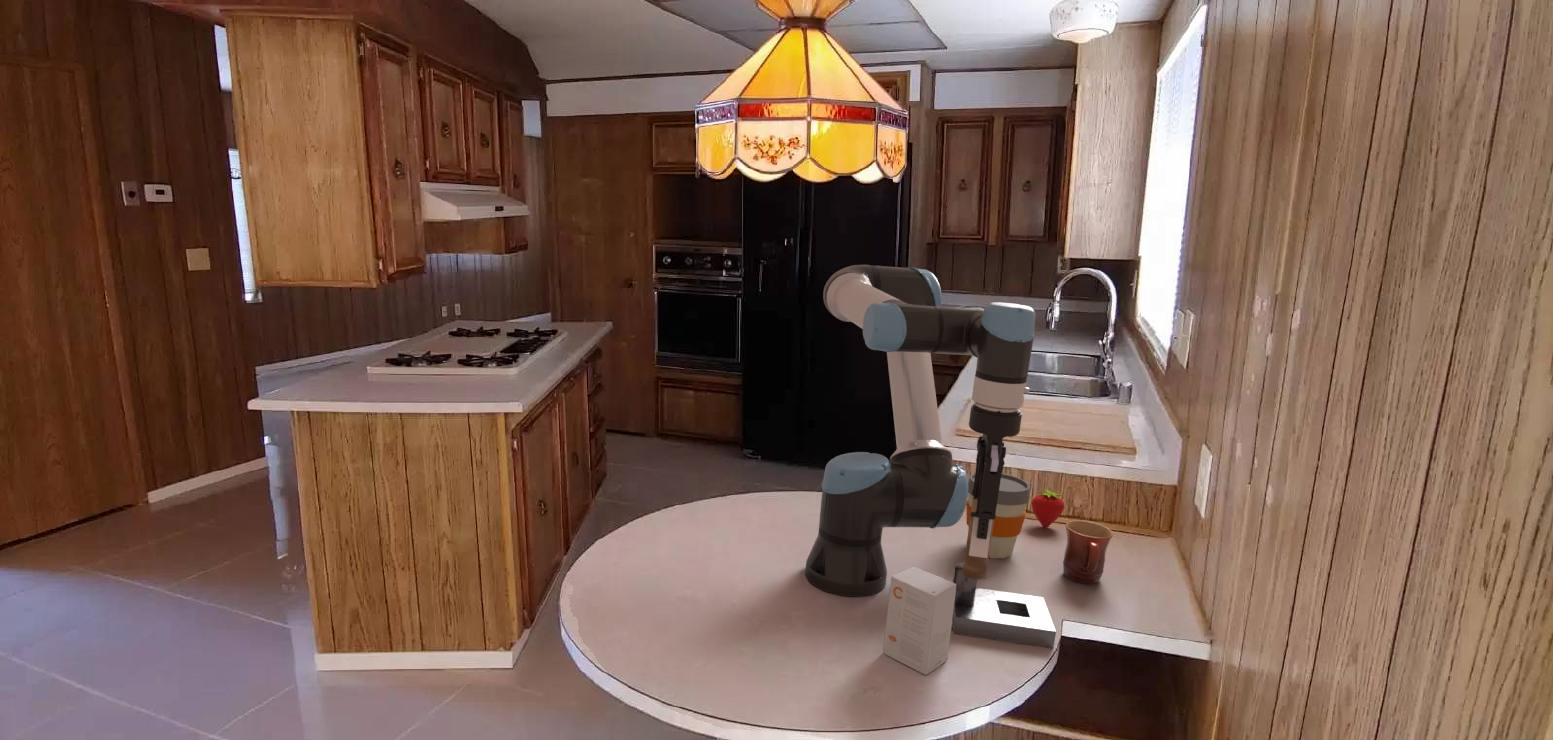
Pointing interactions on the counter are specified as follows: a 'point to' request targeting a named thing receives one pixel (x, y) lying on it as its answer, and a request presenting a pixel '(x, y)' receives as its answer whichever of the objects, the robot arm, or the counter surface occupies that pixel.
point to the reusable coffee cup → (1005, 513)
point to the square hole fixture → (1000, 614)
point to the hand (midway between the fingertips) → (977, 550)
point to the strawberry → (1047, 507)
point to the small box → (919, 619)
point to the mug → (1085, 551)
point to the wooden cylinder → (972, 564)
